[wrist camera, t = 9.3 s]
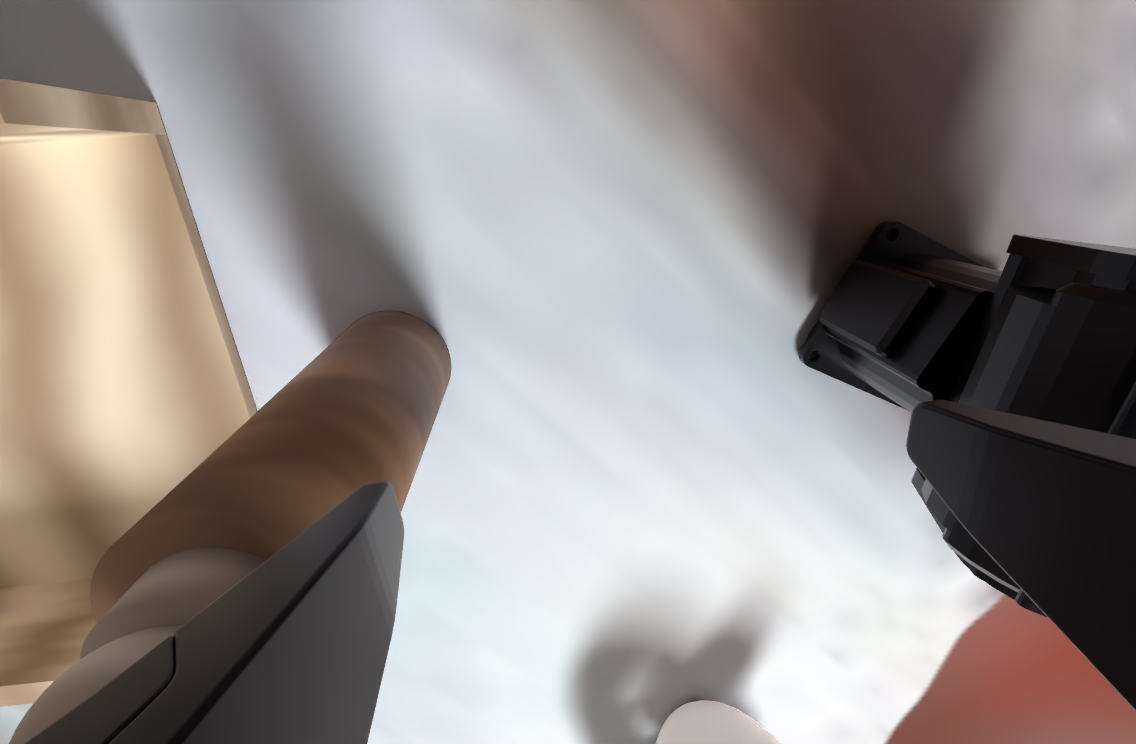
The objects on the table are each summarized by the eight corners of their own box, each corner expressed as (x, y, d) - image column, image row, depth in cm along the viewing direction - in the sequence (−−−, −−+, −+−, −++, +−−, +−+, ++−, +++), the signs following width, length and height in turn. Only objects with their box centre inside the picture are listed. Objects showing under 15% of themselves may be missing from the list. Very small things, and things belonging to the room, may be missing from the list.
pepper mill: (466, 336, 21) (304, 784, 6) (430, 428, 23) (225, 980, 7) (355, 293, 21) (-179, 696, 5) (325, 391, 22) (-163, 940, 7)
